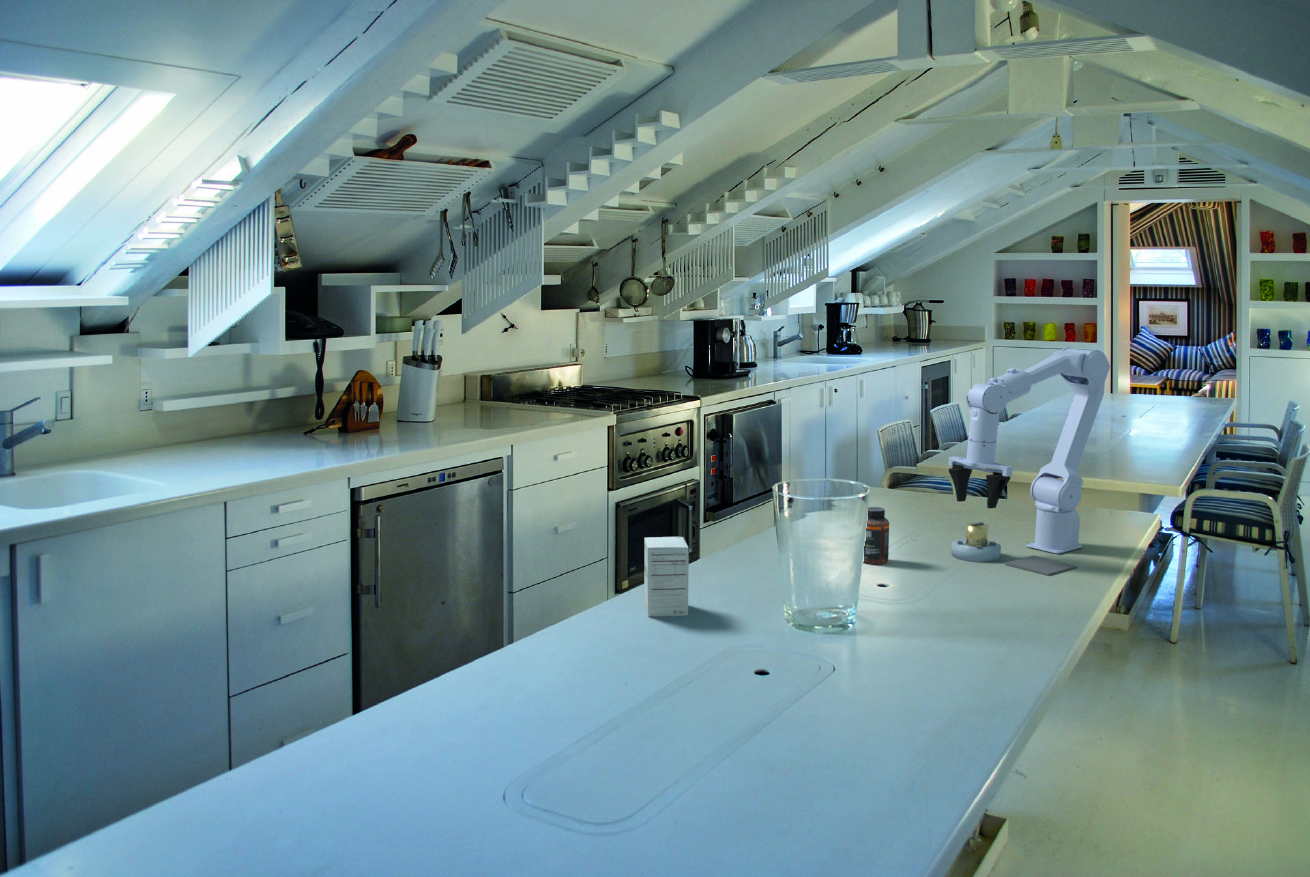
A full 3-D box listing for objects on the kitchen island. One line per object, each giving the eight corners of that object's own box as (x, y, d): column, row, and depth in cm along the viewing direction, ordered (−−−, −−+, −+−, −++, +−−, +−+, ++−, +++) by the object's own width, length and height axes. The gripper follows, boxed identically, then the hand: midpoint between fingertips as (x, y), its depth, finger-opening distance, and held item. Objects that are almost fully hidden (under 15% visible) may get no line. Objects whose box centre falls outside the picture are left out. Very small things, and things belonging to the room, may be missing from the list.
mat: (1033, 557, 225) (1033, 555, 225) (1076, 567, 218) (1076, 565, 217) (1005, 564, 219) (1005, 562, 219) (1048, 575, 212) (1048, 573, 212)
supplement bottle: (886, 558, 224) (888, 505, 223) (889, 565, 218) (891, 512, 217) (857, 557, 225) (859, 505, 223) (860, 564, 219) (862, 511, 217)
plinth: (970, 547, 233) (971, 533, 233) (1009, 557, 225) (1010, 543, 225) (941, 554, 227) (942, 540, 227) (981, 564, 219) (981, 550, 219)
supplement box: (643, 604, 192) (643, 536, 190) (684, 603, 193) (684, 535, 191) (646, 617, 185) (646, 547, 183) (688, 616, 186) (689, 546, 184)
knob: (973, 540, 229) (975, 520, 228) (991, 545, 226) (992, 524, 225) (960, 543, 226) (962, 522, 226) (978, 548, 223) (979, 526, 222)
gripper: (942, 436, 225) (936, 499, 227) (1000, 446, 214) (994, 512, 216) (962, 435, 230) (956, 497, 231) (1021, 445, 218) (1014, 509, 220)
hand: (976, 504), depth 224 cm, fingers open, 7 cm apart
